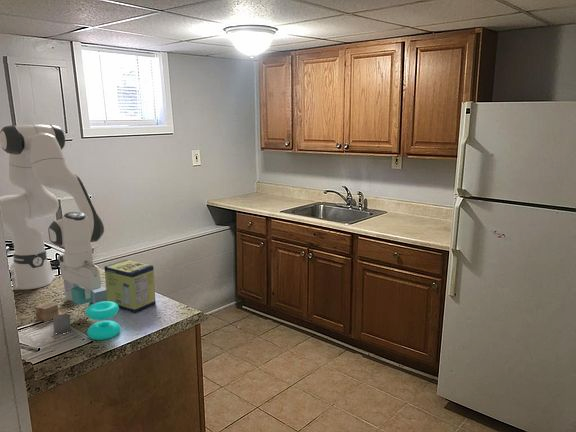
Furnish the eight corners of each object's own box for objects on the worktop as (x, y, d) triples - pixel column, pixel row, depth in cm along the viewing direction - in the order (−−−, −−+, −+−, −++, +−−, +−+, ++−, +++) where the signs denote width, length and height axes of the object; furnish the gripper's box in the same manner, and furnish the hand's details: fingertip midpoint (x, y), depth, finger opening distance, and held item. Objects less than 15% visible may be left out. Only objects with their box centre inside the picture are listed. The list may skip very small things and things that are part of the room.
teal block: (72, 301, 163) (71, 288, 162) (85, 297, 167) (84, 284, 166) (79, 305, 160) (78, 291, 159) (93, 300, 164) (92, 287, 163)
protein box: (128, 296, 183) (125, 259, 180) (156, 304, 176) (154, 265, 172) (106, 305, 174) (103, 266, 171) (135, 313, 167) (132, 273, 164)
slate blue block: (90, 301, 178) (89, 289, 177) (103, 298, 181) (102, 286, 180) (95, 305, 174) (94, 292, 173) (108, 301, 178) (107, 289, 177)
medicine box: (75, 301, 178) (73, 280, 176) (65, 300, 179) (63, 279, 177) (88, 294, 185) (86, 273, 184) (78, 293, 186) (76, 273, 184)
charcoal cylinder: (51, 332, 152) (49, 317, 151) (66, 326, 156) (64, 312, 155) (59, 336, 149) (57, 321, 148) (74, 330, 153) (72, 316, 152)
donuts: (87, 301, 152) (119, 298, 155) (89, 329, 154) (121, 326, 156) (83, 313, 142) (117, 310, 145) (85, 343, 144) (119, 339, 147)
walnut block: (36, 320, 161) (34, 306, 160) (49, 314, 165) (47, 301, 164) (45, 322, 159) (44, 309, 158) (58, 317, 163) (57, 304, 162)
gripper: (104, 262, 157) (107, 300, 160) (72, 251, 169) (75, 287, 171) (87, 266, 152) (90, 305, 155) (55, 255, 164) (58, 292, 166)
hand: (82, 296), depth 163 cm, fingers closed on teal block, 5 cm apart
